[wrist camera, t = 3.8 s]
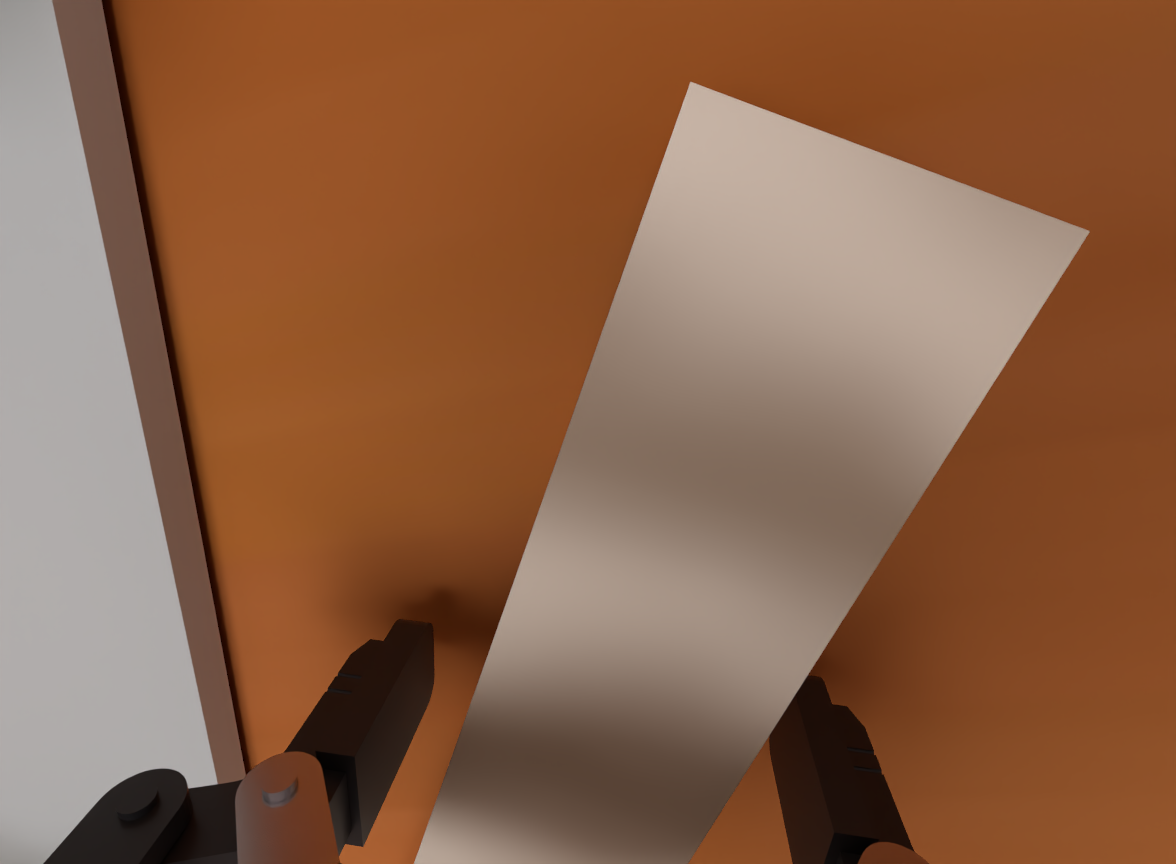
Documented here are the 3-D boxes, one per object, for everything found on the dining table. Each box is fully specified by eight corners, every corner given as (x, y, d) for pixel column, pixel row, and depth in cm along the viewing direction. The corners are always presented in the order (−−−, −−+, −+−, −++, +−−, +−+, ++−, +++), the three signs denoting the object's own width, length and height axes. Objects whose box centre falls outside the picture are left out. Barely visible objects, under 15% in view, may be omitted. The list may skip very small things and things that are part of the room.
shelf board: (678, 124, 11) (690, 82, 7) (940, 221, 11) (1090, 231, 7) (413, 867, 19) (354, 1031, 15) (563, 919, 19) (541, 1094, 15)
